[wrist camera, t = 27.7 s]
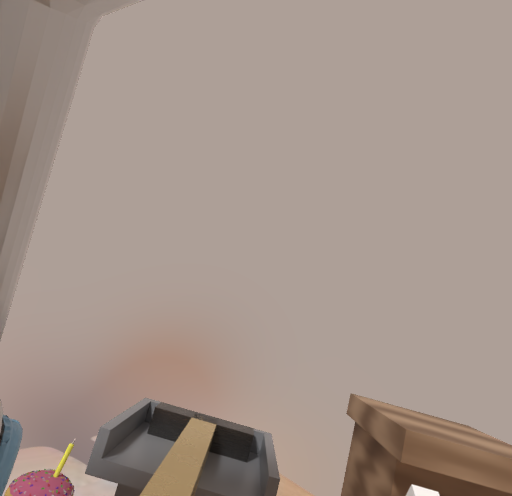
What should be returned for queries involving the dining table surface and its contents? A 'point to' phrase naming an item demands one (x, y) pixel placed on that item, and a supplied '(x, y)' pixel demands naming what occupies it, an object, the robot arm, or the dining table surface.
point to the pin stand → (421, 454)
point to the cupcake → (43, 482)
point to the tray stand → (155, 450)
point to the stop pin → (192, 447)
